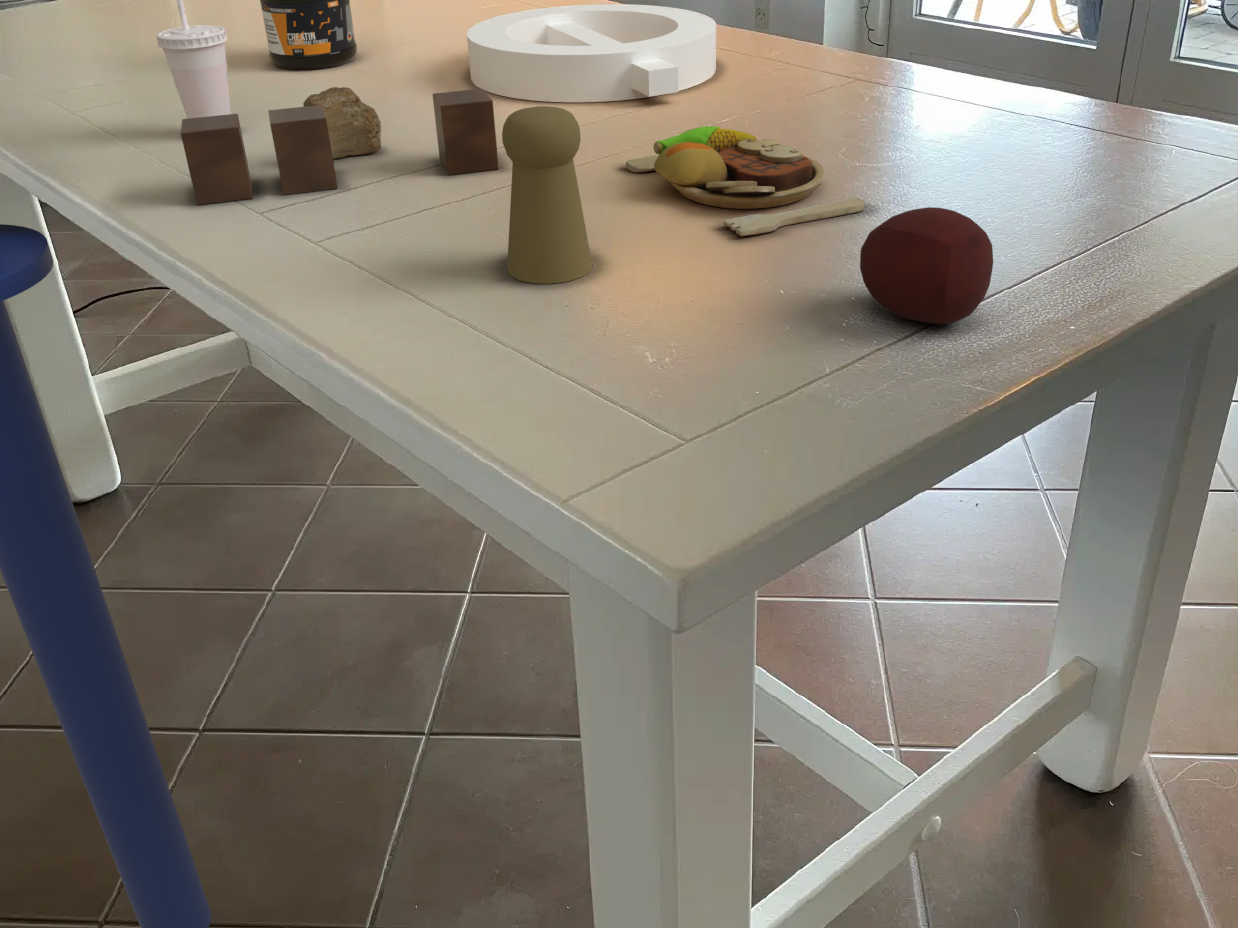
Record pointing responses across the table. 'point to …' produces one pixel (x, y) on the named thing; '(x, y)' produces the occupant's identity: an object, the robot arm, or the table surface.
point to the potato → (928, 265)
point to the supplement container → (309, 33)
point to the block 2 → (303, 149)
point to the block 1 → (216, 159)
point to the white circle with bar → (592, 52)
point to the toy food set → (742, 176)
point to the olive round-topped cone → (545, 197)
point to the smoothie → (198, 66)
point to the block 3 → (465, 131)
